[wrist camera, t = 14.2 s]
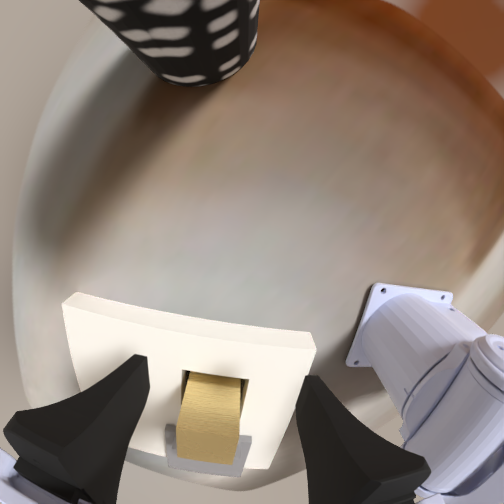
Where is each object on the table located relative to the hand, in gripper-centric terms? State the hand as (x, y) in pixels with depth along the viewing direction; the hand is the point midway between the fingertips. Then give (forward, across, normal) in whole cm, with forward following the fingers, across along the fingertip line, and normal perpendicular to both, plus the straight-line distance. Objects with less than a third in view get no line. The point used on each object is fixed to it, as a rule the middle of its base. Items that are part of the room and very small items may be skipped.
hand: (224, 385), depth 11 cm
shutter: (+7, +1, +17) cm, 18 cm away
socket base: (+9, +4, +11) cm, 15 cm away
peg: (+9, +1, +8) cm, 12 cm away
